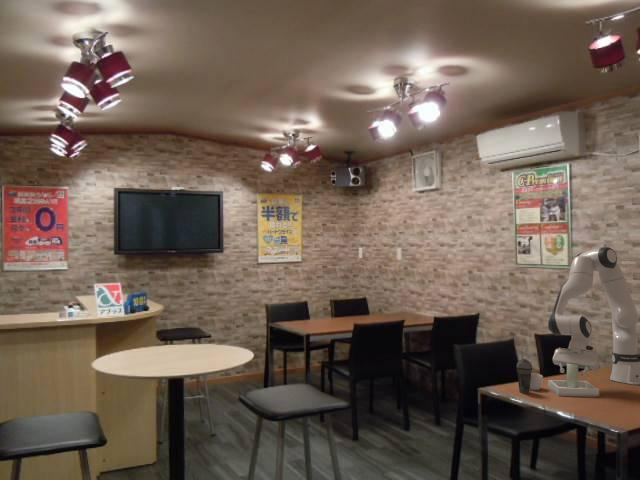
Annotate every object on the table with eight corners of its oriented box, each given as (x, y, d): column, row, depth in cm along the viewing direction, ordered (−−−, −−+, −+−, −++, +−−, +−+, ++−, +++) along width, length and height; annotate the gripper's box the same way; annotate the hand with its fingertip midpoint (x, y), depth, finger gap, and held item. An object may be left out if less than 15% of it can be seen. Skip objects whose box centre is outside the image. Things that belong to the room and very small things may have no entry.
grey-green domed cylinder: (576, 388, 264) (576, 363, 264) (580, 391, 259) (579, 365, 259) (565, 388, 265) (565, 363, 265) (569, 390, 260) (568, 365, 260)
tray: (586, 388, 269) (586, 381, 269) (599, 396, 253) (599, 389, 253) (548, 387, 271) (548, 380, 271) (558, 395, 255) (558, 388, 255)
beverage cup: (533, 394, 257) (533, 351, 258) (517, 393, 259) (517, 351, 259) (531, 390, 264) (530, 348, 265) (515, 389, 266) (515, 348, 266)
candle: (521, 389, 267) (521, 376, 267) (524, 385, 275) (524, 372, 275) (541, 391, 263) (541, 378, 263) (543, 387, 271) (543, 374, 271)
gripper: (554, 343, 274) (548, 366, 267) (599, 348, 261) (593, 372, 253) (557, 351, 278) (551, 374, 270) (601, 356, 264) (596, 380, 257)
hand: (572, 373), depth 262 cm, fingers open, 8 cm apart
